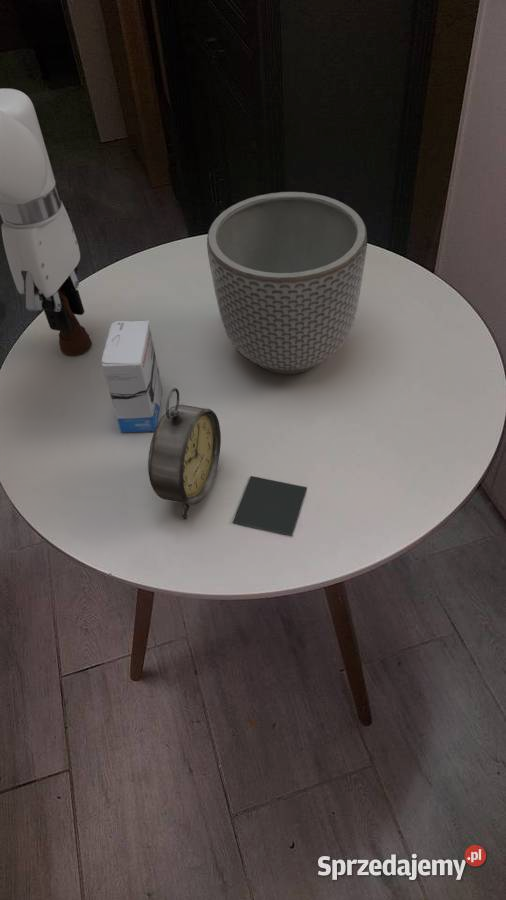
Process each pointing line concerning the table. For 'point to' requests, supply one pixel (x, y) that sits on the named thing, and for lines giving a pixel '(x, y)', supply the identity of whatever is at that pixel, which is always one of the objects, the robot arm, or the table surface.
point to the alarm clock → (184, 453)
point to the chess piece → (73, 333)
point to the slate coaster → (270, 505)
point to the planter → (287, 277)
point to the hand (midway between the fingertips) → (67, 320)
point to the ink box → (132, 375)
